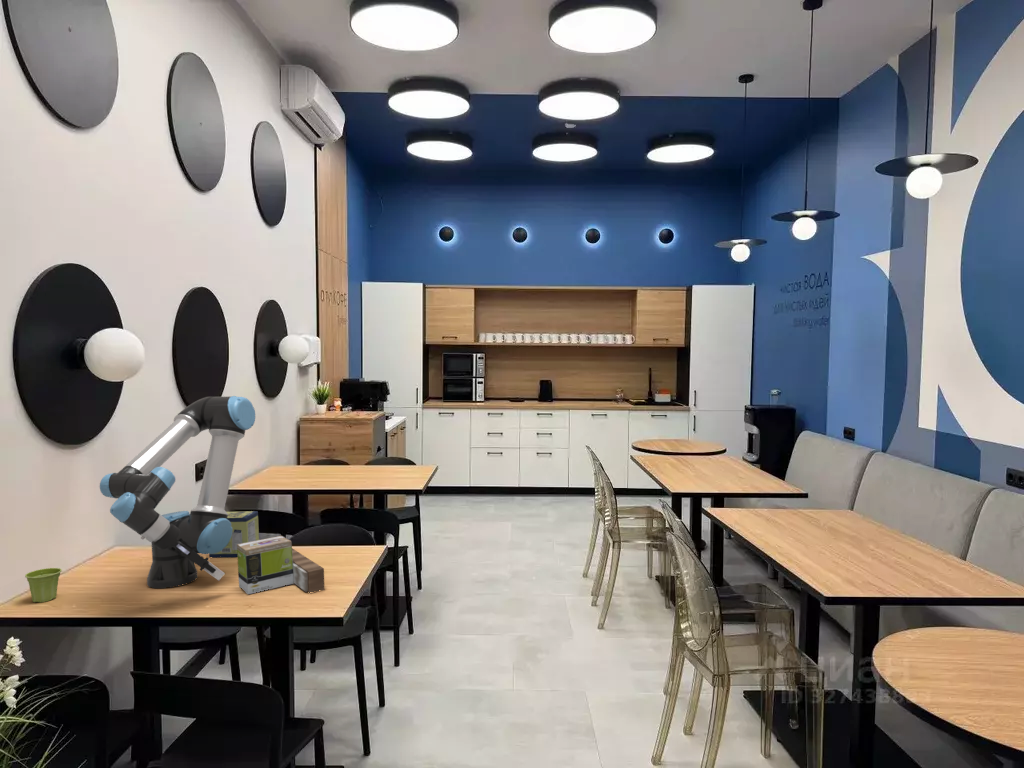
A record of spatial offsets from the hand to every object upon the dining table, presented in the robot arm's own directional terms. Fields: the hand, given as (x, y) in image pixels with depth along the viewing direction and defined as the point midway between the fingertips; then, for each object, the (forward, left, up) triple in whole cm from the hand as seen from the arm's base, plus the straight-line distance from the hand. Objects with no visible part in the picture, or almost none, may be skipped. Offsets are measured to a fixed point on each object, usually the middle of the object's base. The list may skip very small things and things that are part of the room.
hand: (221, 576), depth 201 cm
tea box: (0, +14, -6) cm, 15 cm away
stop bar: (+2, +25, -6) cm, 25 cm away
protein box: (-46, +16, -6) cm, 49 cm away
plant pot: (-34, -44, -6) cm, 57 cm away
